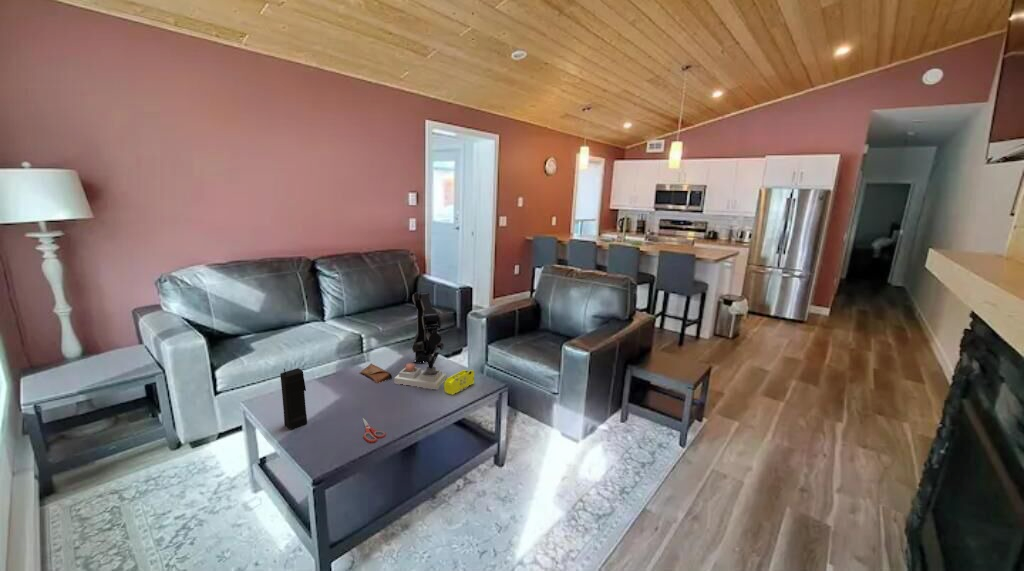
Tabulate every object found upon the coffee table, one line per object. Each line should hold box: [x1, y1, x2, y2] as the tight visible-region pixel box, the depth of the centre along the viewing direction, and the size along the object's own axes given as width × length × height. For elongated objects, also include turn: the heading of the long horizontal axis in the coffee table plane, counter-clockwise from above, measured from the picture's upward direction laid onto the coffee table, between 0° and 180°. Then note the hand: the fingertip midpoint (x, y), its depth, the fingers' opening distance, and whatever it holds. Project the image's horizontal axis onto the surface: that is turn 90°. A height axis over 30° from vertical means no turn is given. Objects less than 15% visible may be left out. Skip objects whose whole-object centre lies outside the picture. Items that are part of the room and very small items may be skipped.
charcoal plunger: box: [425, 365, 437, 375], centre depth 204 cm, size 4×4×3 cm
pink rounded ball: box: [405, 362, 416, 372], centre depth 206 cm, size 4×4×3 cm
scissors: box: [362, 417, 386, 444], centre depth 165 cm, size 8×21×2 cm, turn 45°
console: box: [393, 366, 447, 391], centre depth 206 cm, size 12×22×5 cm, turn 77°
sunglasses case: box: [359, 362, 393, 384], centre depth 211 cm, size 18×7×7 cm, turn 51°
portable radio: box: [280, 368, 308, 430], centre depth 164 cm, size 8×6×25 cm
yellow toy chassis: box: [443, 369, 475, 396], centre depth 200 cm, size 16×6×8 cm, turn 146°
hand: (430, 368), depth 204 cm, fingers closed, pressing on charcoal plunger
